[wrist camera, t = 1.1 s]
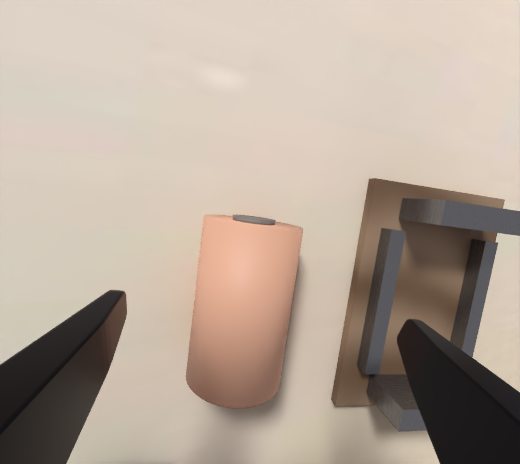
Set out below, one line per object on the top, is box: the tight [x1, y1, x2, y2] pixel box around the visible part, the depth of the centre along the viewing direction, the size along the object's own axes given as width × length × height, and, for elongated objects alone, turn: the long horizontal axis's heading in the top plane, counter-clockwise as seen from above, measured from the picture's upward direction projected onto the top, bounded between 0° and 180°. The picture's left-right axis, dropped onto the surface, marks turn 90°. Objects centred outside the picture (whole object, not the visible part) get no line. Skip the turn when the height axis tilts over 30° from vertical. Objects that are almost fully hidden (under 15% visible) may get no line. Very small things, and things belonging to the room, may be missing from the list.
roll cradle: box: [331, 178, 520, 431], centre depth 23 cm, size 18×12×5 cm, turn 172°
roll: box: [186, 215, 303, 408], centre depth 19 cm, size 10×6×6 cm, turn 172°
